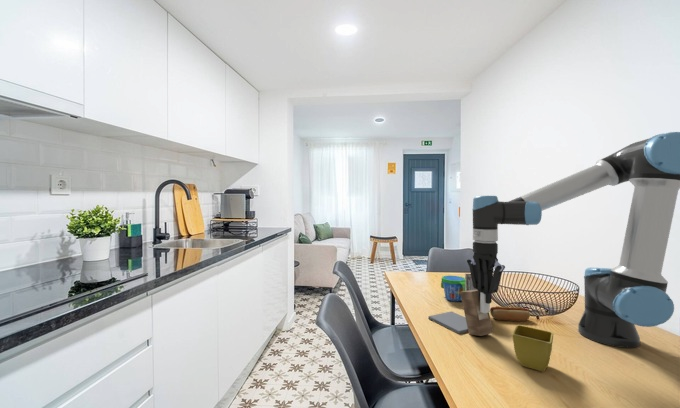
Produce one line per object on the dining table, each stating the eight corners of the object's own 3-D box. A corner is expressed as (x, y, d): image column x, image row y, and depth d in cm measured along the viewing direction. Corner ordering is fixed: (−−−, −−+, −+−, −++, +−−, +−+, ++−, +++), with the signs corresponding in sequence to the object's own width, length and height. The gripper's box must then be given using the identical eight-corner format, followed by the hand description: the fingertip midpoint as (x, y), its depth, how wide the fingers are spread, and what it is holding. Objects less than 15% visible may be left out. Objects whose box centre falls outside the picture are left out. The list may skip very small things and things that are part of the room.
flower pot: (517, 354, 87) (517, 323, 87) (553, 364, 81) (553, 331, 81) (512, 366, 80) (512, 333, 80) (551, 378, 74) (551, 343, 74)
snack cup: (434, 295, 143) (434, 274, 143) (453, 293, 146) (453, 273, 146) (453, 306, 128) (453, 282, 128) (474, 304, 131) (474, 281, 131)
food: (493, 321, 111) (493, 308, 111) (488, 316, 117) (488, 303, 117) (532, 323, 110) (532, 310, 110) (525, 317, 115) (525, 305, 115)
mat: (483, 327, 105) (483, 325, 105) (459, 334, 100) (459, 331, 100) (451, 313, 119) (451, 311, 119) (428, 318, 114) (428, 316, 114)
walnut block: (493, 332, 98) (483, 289, 102) (481, 336, 96) (471, 291, 99) (481, 331, 103) (472, 289, 106) (469, 334, 100) (460, 292, 104)
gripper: (461, 240, 102) (461, 307, 102) (495, 244, 90) (495, 320, 90) (476, 239, 105) (476, 304, 105) (510, 243, 93) (510, 316, 93)
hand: (485, 311), depth 98 cm, fingers closed
